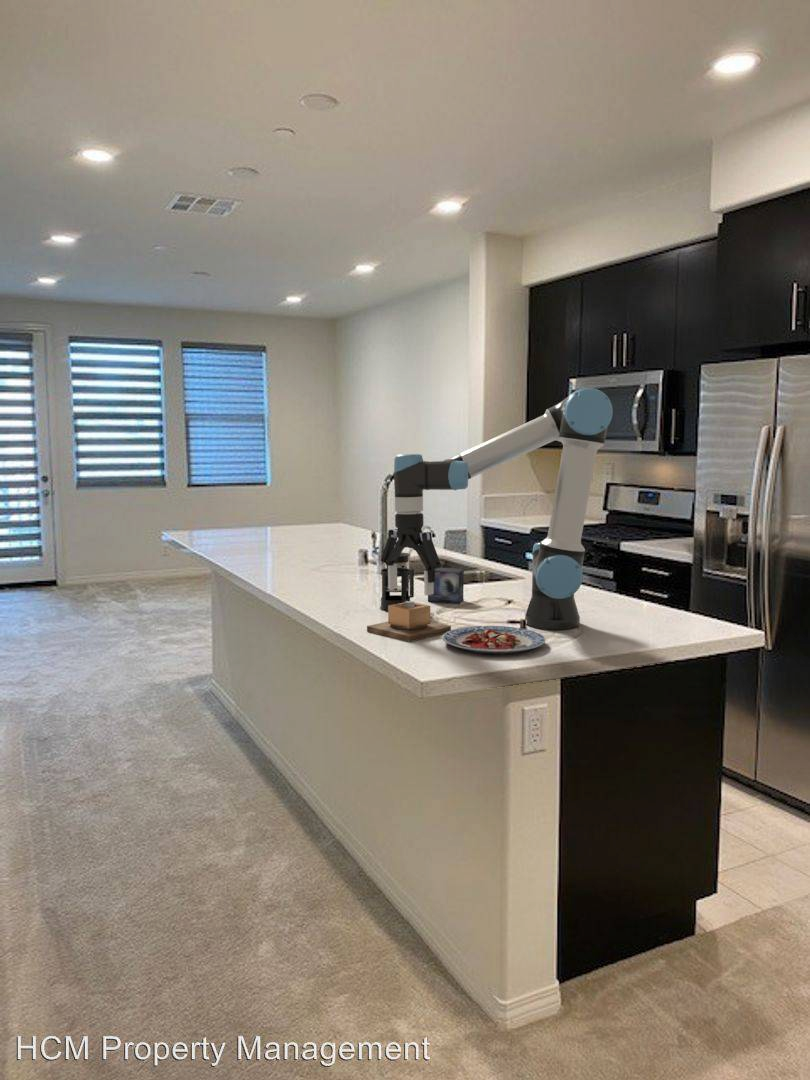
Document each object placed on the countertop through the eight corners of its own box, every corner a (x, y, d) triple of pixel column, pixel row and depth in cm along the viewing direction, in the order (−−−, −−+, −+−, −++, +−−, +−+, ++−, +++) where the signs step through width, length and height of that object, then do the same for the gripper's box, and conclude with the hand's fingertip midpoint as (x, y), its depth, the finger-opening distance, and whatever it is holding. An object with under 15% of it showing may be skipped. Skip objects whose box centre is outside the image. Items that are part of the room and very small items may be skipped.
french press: (389, 613, 240) (389, 536, 237) (372, 608, 247) (372, 533, 244) (421, 608, 247) (421, 534, 244) (403, 603, 254) (403, 531, 251)
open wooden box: (430, 623, 216) (430, 605, 216) (409, 628, 211) (409, 609, 210) (409, 619, 222) (409, 601, 221) (388, 623, 216) (388, 605, 216)
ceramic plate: (421, 643, 205) (421, 632, 205) (494, 629, 221) (494, 618, 220) (491, 665, 185) (491, 652, 184) (566, 648, 200) (567, 636, 200)
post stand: (450, 631, 217) (451, 602, 216) (409, 641, 206) (409, 611, 205) (408, 622, 228) (408, 594, 227) (367, 631, 217) (366, 602, 216)
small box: (426, 602, 257) (427, 569, 256) (432, 598, 263) (432, 566, 262) (458, 604, 253) (459, 571, 252) (464, 600, 260) (464, 568, 258)
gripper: (453, 513, 207) (454, 595, 209) (386, 509, 224) (388, 584, 227) (434, 516, 201) (435, 599, 204) (366, 511, 219) (368, 588, 221)
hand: (410, 591), depth 215 cm, fingers open, 13 cm apart
